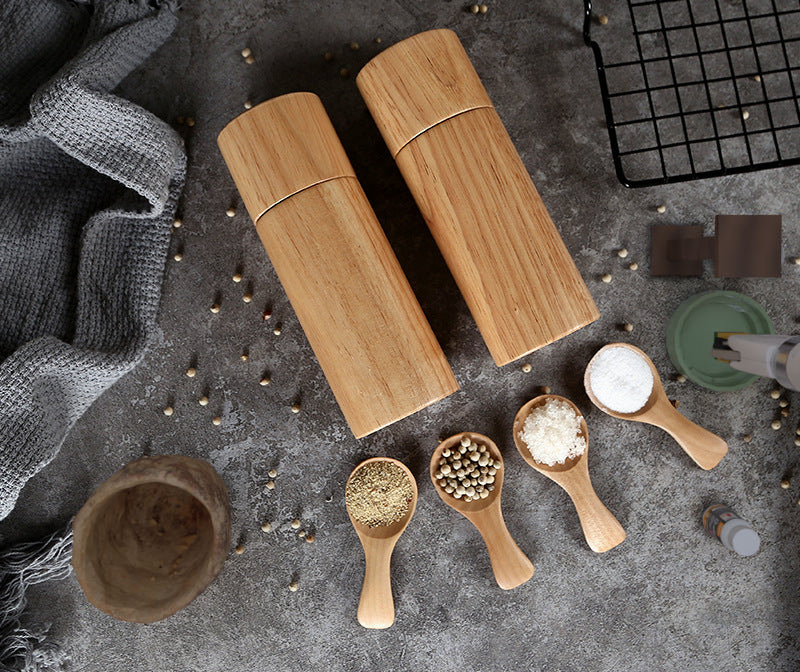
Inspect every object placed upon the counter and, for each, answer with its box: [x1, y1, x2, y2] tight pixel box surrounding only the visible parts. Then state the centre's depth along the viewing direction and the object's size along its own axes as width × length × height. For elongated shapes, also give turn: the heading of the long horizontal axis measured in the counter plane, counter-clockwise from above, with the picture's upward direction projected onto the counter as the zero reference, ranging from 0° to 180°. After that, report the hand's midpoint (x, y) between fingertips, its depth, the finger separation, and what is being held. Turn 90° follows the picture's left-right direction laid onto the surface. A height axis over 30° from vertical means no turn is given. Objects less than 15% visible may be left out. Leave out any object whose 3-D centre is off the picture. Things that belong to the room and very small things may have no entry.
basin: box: [665, 289, 776, 392], centre depth 114 cm, size 18×18×4 cm
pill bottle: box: [702, 503, 761, 557], centre depth 112 cm, size 6×6×10 cm
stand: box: [649, 214, 783, 279], centre depth 104 cm, size 9×9×25 cm
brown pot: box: [71, 453, 232, 625], centre depth 104 cm, size 22×22×25 cm
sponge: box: [714, 332, 754, 363], centre depth 101 cm, size 4×4×7 cm
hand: (732, 346), depth 103 cm, fingers closed on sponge, 4 cm apart
